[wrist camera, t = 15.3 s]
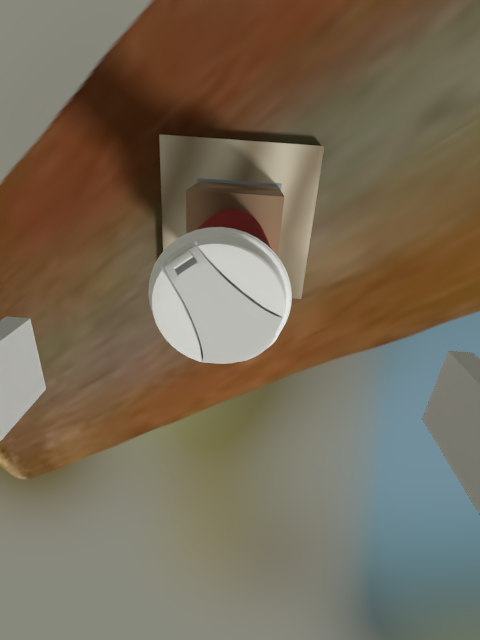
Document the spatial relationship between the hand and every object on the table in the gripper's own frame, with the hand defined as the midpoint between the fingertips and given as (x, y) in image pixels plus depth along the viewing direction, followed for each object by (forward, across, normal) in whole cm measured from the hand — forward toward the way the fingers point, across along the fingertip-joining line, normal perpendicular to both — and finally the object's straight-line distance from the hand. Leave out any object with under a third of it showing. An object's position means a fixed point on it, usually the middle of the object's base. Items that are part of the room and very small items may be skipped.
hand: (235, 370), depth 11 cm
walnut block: (+29, +1, +1) cm, 29 cm away
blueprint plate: (+30, +2, +1) cm, 30 cm away
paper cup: (+21, +1, +1) cm, 21 cm away
